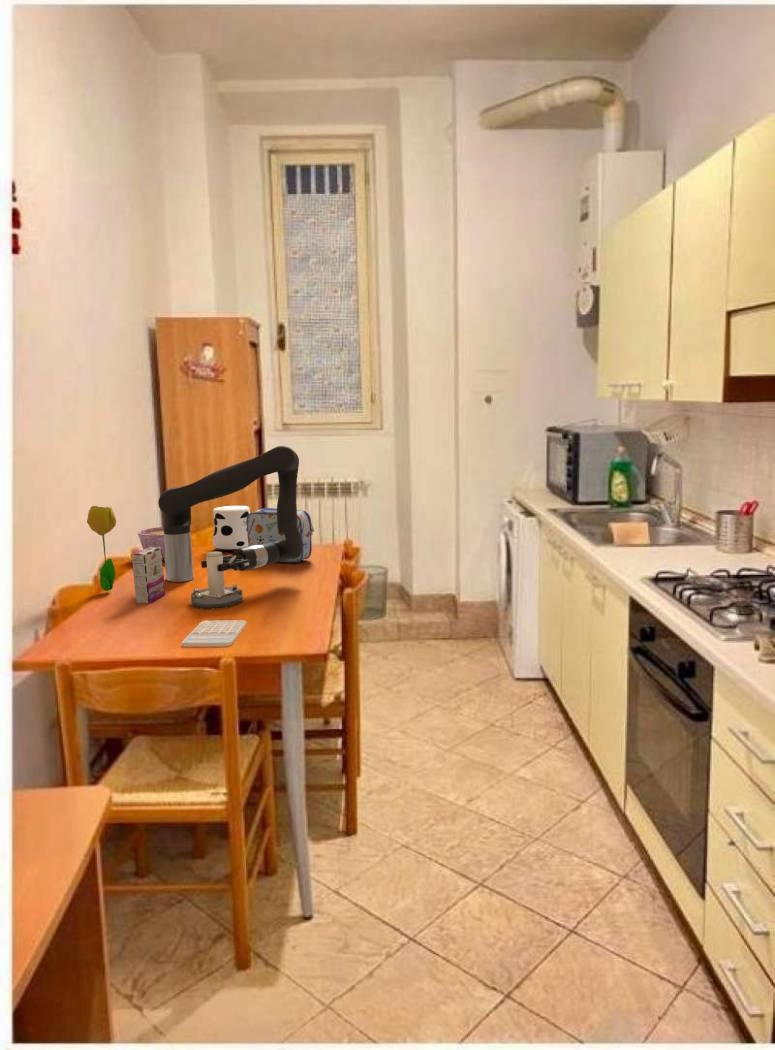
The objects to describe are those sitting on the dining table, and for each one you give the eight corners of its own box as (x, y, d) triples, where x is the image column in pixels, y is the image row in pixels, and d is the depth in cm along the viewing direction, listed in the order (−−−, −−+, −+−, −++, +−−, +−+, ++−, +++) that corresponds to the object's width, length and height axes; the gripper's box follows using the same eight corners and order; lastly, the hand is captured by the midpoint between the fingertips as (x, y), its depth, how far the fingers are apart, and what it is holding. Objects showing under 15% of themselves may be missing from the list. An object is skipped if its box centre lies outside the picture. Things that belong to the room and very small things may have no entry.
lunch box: (318, 560, 303) (316, 505, 300) (306, 565, 294) (303, 509, 290) (259, 556, 314) (256, 503, 310) (245, 561, 304) (242, 506, 301)
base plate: (181, 603, 243) (180, 590, 242) (222, 593, 255) (221, 580, 254) (211, 612, 233) (210, 598, 232) (252, 600, 244) (252, 587, 244)
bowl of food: (129, 560, 312) (127, 532, 310) (168, 551, 328) (166, 525, 326) (161, 565, 301) (159, 536, 299) (200, 556, 317) (198, 528, 315)
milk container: (262, 548, 329) (260, 507, 326) (228, 555, 317) (226, 512, 314) (238, 544, 341) (236, 504, 338) (205, 550, 329) (202, 509, 326)
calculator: (247, 625, 220) (247, 619, 219) (230, 648, 200) (230, 641, 200) (201, 626, 220) (201, 619, 220) (180, 648, 201) (180, 641, 200)
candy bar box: (152, 594, 255) (148, 546, 253) (165, 595, 254) (162, 546, 252) (134, 603, 245) (130, 553, 242) (149, 604, 244) (145, 553, 241)
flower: (111, 596, 255) (103, 507, 250) (90, 595, 256) (81, 507, 251) (125, 589, 263) (118, 503, 258) (104, 589, 265) (96, 503, 260)
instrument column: (205, 592, 243) (202, 553, 241) (218, 589, 247) (215, 550, 245) (215, 595, 240) (212, 555, 238) (228, 591, 244) (225, 552, 241)
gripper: (236, 544, 256) (195, 552, 244) (263, 548, 247) (222, 557, 235) (237, 566, 258) (197, 575, 246) (265, 571, 248) (224, 581, 236)
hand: (209, 566), depth 240 cm, fingers open, 8 cm apart
